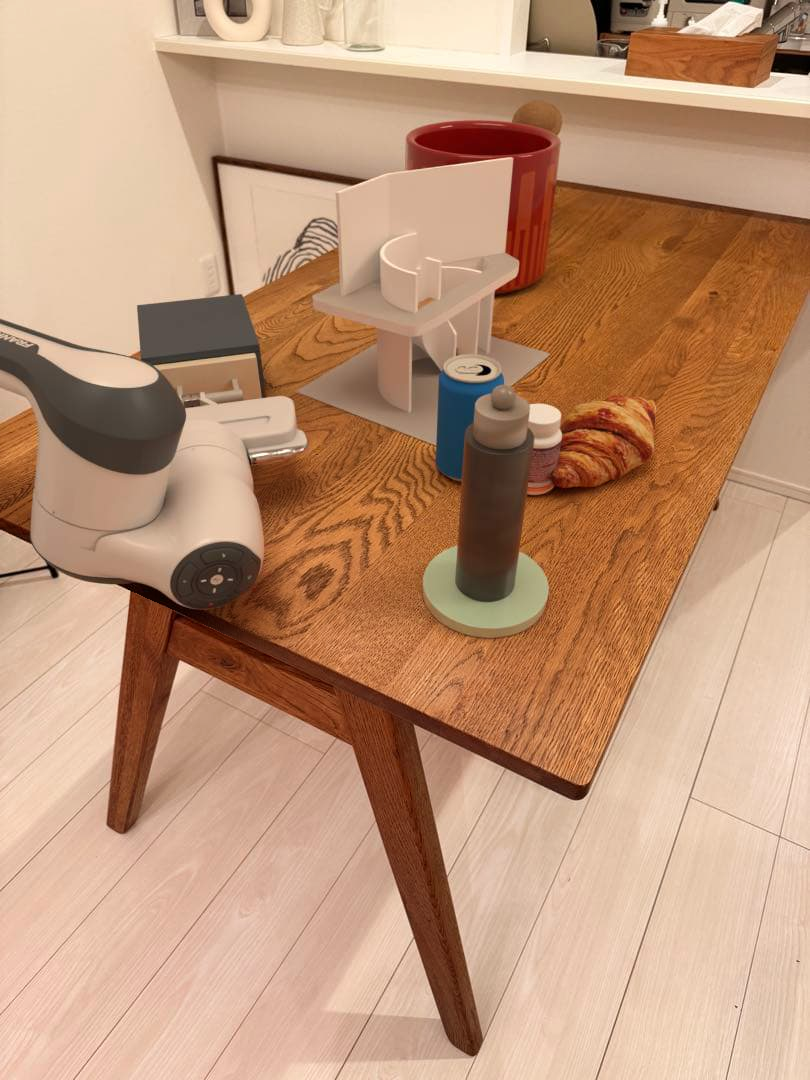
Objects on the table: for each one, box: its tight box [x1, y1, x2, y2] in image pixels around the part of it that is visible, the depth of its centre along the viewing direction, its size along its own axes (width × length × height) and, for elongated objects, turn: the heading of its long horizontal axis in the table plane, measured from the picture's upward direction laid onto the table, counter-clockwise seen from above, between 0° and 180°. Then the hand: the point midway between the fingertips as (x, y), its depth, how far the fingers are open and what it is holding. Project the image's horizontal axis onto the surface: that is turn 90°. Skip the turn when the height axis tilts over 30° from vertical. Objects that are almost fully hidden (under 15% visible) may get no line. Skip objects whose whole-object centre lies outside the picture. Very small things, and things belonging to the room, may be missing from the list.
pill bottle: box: [527, 403, 562, 496], centre depth 77 cm, size 5×5×8 cm
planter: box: [404, 119, 562, 296], centre depth 119 cm, size 23×23×20 cm
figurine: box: [511, 99, 563, 136], centre depth 141 cm, size 9×7×20 cm
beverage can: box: [435, 354, 504, 483], centre depth 78 cm, size 6×6×12 cm
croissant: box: [550, 394, 657, 489], centre depth 83 cm, size 21×10×8 cm, turn 141°
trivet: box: [421, 545, 550, 639], centre depth 67 cm, size 11×11×1 cm
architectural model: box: [295, 157, 552, 447], centre depth 91 cm, size 28×21×23 cm
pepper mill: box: [455, 385, 534, 602], centre depth 61 cm, size 5×5×19 cm
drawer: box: [153, 353, 262, 404], centre depth 89 cm, size 18×12×7 cm, turn 17°
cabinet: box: [136, 293, 267, 398], centre depth 92 cm, size 15×13×9 cm
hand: (192, 399), depth 81 cm, fingers closed, pressing on drawer
